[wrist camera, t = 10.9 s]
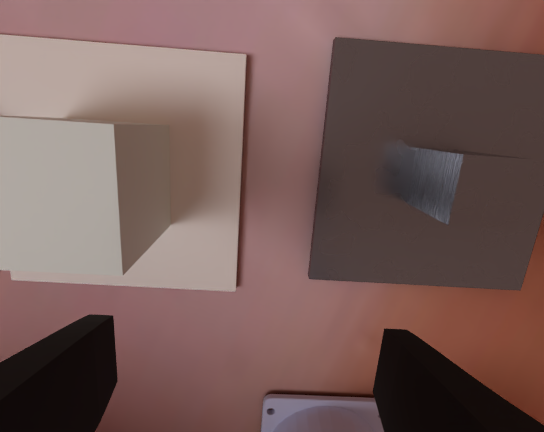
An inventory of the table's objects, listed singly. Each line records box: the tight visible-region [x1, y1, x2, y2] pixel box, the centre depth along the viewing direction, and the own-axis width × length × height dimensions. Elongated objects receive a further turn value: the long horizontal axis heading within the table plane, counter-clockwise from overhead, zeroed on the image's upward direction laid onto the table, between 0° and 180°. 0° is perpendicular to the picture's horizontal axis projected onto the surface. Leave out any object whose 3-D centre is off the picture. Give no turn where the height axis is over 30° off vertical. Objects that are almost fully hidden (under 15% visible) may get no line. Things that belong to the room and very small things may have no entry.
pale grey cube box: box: [0, 115, 171, 276], centre depth 13 cm, size 5×5×6 cm
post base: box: [308, 37, 544, 290], centre depth 15 cm, size 12×12×4 cm
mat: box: [0, 34, 247, 292], centre depth 16 cm, size 12×12×1 cm
